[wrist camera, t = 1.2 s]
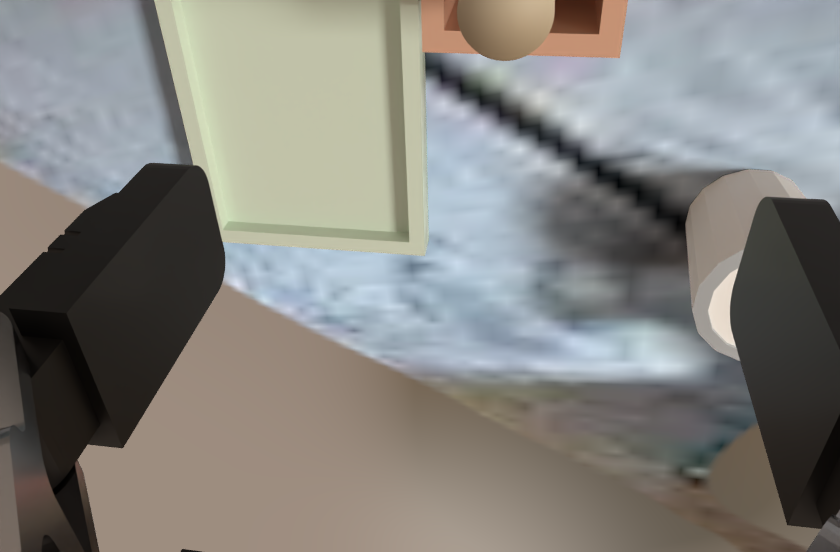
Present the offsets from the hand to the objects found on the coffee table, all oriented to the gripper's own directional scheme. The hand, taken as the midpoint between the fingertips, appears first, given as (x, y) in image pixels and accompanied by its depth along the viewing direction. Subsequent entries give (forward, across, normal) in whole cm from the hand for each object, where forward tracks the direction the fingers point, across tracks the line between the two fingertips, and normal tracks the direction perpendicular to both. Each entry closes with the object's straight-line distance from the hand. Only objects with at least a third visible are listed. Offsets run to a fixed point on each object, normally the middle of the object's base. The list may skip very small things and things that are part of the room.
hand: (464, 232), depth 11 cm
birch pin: (+23, 0, 0) cm, 23 cm away
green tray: (+24, +10, +9) cm, 27 cm away
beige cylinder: (+24, -12, +14) cm, 30 cm away
